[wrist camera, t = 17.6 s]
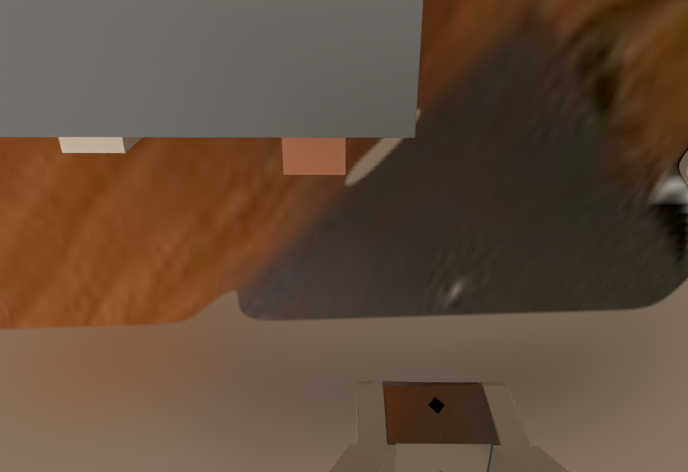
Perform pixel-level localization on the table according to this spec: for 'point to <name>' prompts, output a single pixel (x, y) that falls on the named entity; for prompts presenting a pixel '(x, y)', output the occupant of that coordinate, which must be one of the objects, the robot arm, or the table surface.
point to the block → (209, 68)
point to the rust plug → (314, 156)
